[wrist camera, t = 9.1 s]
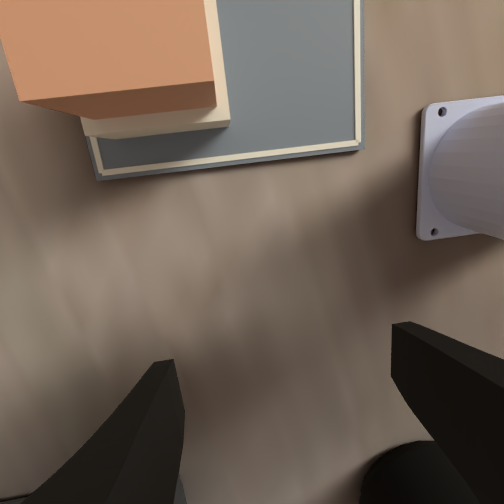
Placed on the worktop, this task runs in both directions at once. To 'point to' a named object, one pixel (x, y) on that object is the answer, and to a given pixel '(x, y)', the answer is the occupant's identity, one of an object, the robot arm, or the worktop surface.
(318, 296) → the worktop surface
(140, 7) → the terracotta block
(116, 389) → the worktop surface
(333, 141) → the board
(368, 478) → the coffee jar
